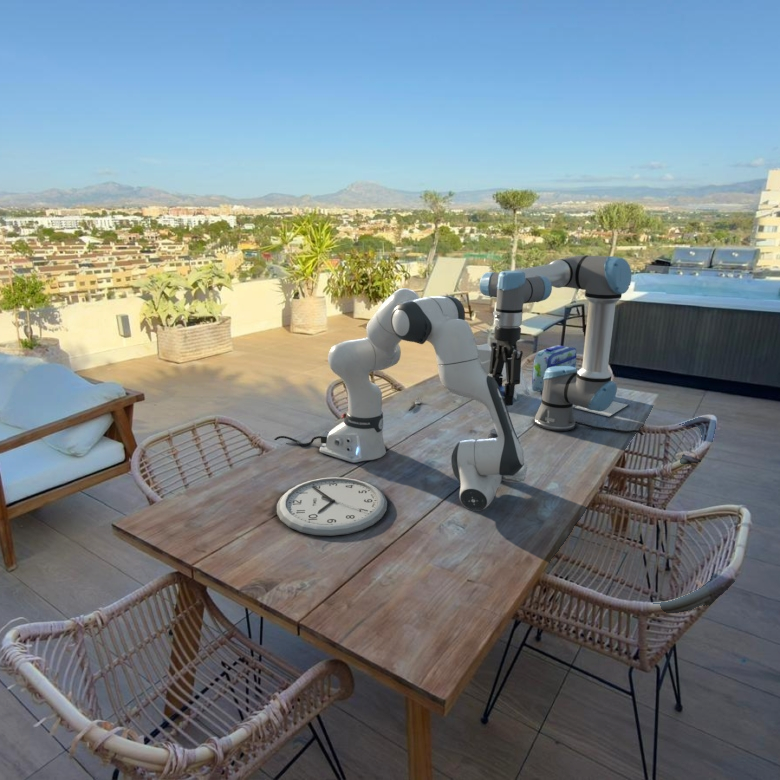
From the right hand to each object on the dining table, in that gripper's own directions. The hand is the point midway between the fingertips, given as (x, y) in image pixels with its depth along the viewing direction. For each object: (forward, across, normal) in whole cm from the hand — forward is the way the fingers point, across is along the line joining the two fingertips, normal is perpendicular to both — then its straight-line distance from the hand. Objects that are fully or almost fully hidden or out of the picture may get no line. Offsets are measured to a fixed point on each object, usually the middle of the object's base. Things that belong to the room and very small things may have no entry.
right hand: (502, 401), depth 158 cm
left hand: (+17, +3, -2) cm, 17 cm away
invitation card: (+24, -40, +76) cm, 89 cm away
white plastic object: (+24, -74, +35) cm, 85 cm away
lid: (-4, 0, 0) cm, 4 cm away
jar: (+23, +3, -3) cm, 23 cm away
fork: (+23, -65, -2) cm, 69 cm away
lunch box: (+24, -67, +70) cm, 100 cm away
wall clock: (+22, +5, -54) cm, 59 cm away
